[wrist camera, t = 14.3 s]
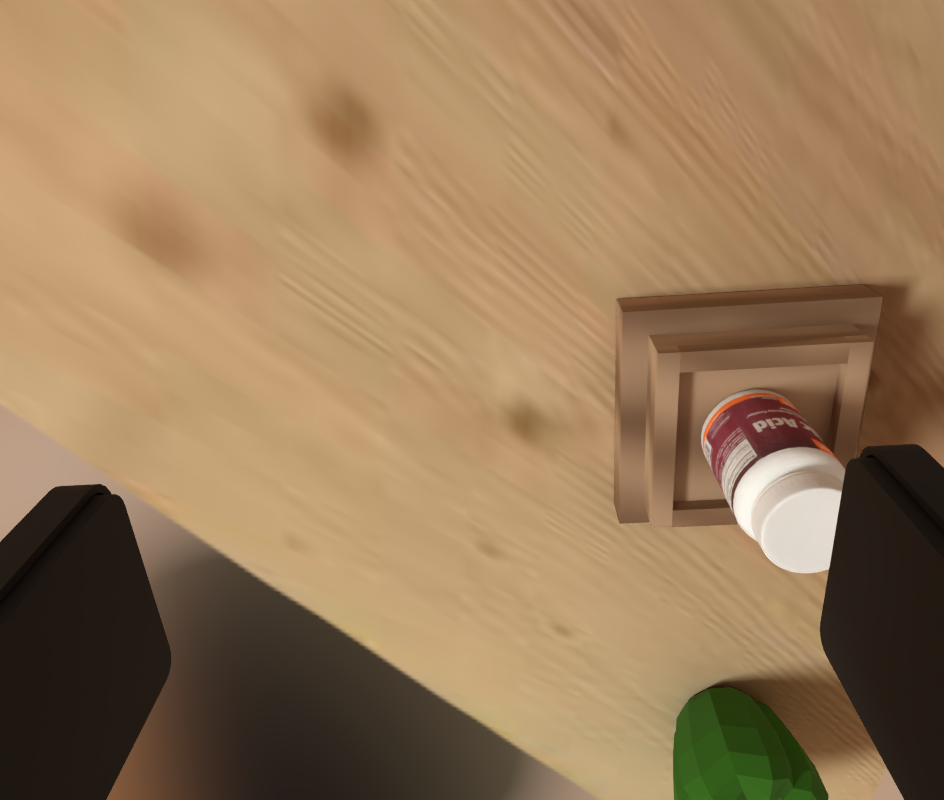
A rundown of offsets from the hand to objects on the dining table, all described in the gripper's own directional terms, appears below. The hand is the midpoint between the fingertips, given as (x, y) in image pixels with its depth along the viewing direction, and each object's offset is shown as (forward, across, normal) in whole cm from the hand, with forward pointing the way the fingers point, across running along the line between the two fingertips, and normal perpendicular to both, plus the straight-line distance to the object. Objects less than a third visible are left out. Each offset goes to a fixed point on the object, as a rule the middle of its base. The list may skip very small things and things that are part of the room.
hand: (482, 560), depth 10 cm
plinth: (+28, -12, +12) cm, 33 cm away
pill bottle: (+25, -12, +12) cm, 30 cm away
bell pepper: (+28, -13, +35) cm, 47 cm away
